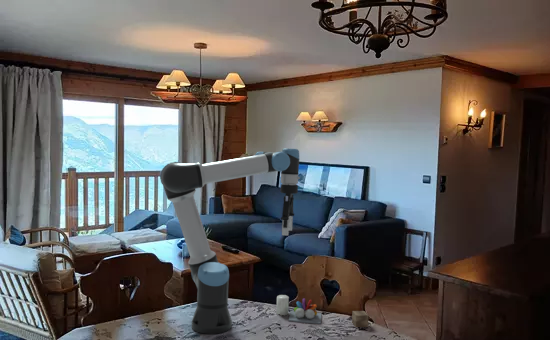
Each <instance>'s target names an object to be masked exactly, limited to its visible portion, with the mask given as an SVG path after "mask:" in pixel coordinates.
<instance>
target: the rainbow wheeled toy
mask: <svg viewBox="0 0 550 340" xmlns="http://www.w3.org/2000/svg"><path fill="white" fill-rule="evenodd" d="M312 301H313V300H312V299H310V298H309V300H308V302H307V301H306V298H302V302H301V301H299V300H298V301H296V303H295V304H296V307H294V308H293V311H294V312H295V315H296V316H297V317H298V318H302V317H304V315H305V316H306V318H308V319H312V318H314V316H315V315H317V313H318V312H317V307H318V306H317V304H315V303H314V304H312Z"/></svg>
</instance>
